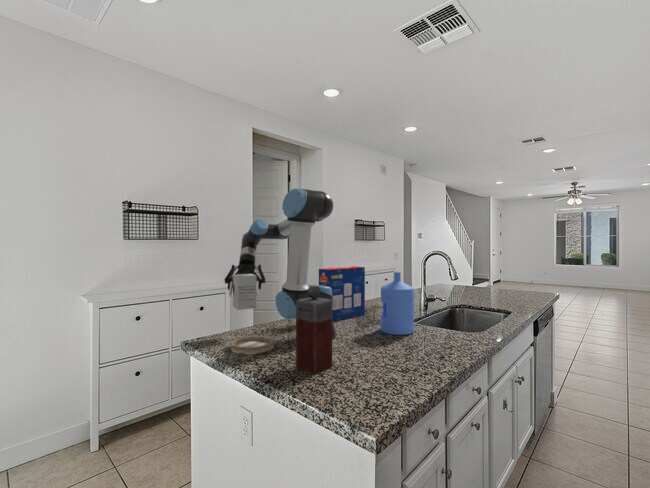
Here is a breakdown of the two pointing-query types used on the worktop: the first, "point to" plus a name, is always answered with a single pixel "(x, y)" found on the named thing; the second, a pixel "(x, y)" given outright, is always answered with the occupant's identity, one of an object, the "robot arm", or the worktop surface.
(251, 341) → the tan plate
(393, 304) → the water jug
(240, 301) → the supplement box
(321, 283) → the blue toy box
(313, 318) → the red square bottle
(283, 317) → the robot arm
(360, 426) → the worktop surface
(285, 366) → the worktop surface
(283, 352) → the worktop surface
